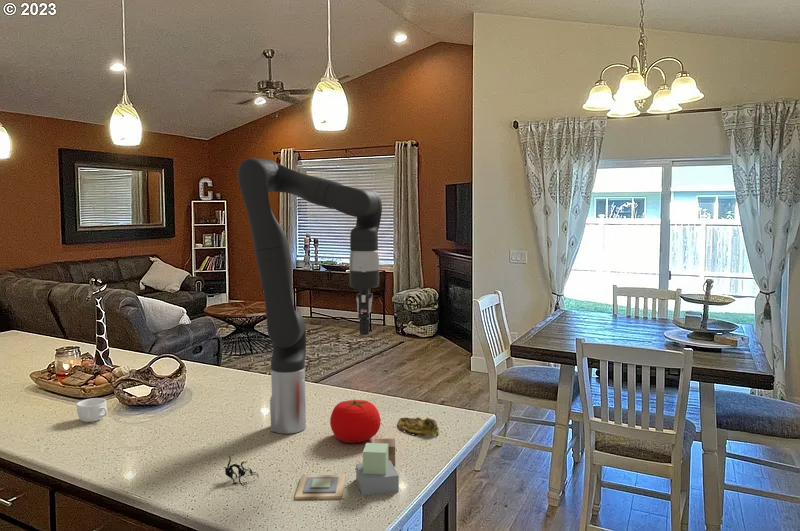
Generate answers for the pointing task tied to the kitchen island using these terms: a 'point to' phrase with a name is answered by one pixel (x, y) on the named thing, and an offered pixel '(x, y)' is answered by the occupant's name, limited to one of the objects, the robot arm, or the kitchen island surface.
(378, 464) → the sage block
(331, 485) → the tile
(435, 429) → the stuffed eggplant half
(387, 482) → the grey base block
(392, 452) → the walnut block
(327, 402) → the kitchen island surface
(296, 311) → the robot arm
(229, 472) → the creature
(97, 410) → the teacup
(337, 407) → the tomato
